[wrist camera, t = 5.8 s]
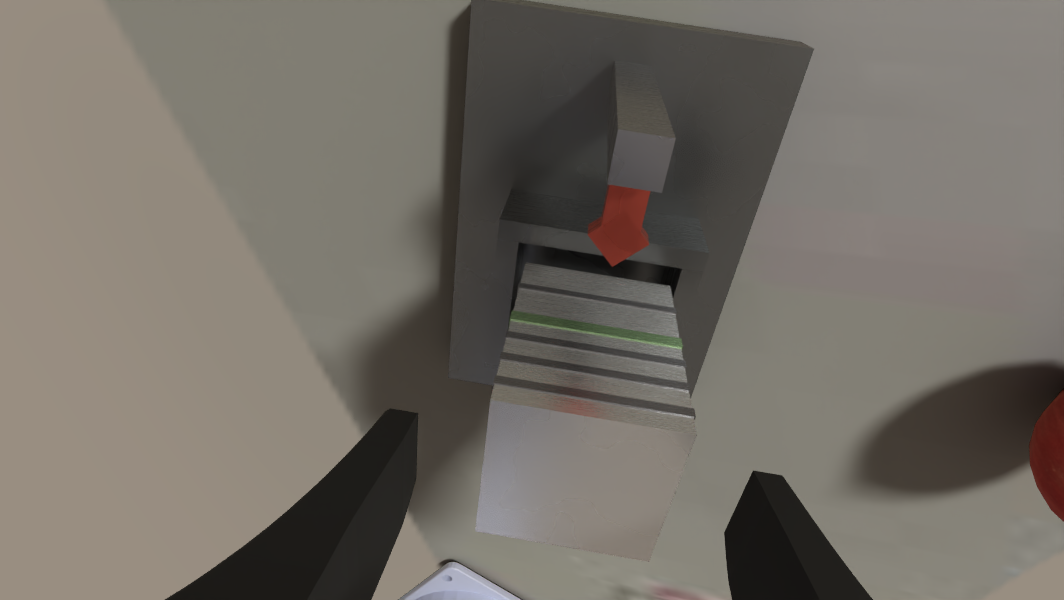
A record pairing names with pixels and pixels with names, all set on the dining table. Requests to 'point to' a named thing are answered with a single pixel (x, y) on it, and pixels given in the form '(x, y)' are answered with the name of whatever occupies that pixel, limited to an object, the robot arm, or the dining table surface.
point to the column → (587, 415)
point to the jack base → (610, 161)
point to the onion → (1050, 455)
